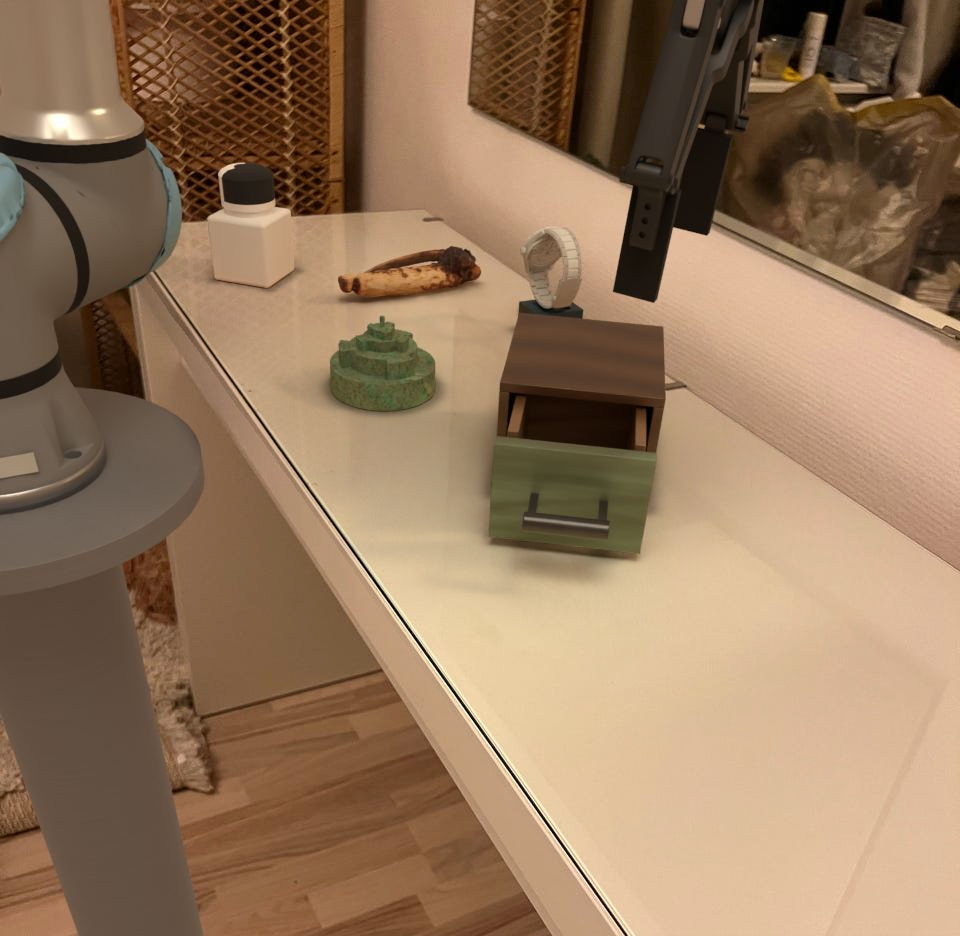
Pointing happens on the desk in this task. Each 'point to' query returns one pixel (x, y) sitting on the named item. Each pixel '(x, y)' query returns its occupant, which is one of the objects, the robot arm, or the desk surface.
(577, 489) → the drawer
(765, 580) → the desk surface
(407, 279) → the lashed bone hook
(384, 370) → the decorative artifact
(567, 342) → the cabinet
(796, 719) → the desk surface
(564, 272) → the watch
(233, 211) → the medicine bottle
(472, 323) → the desk surface
